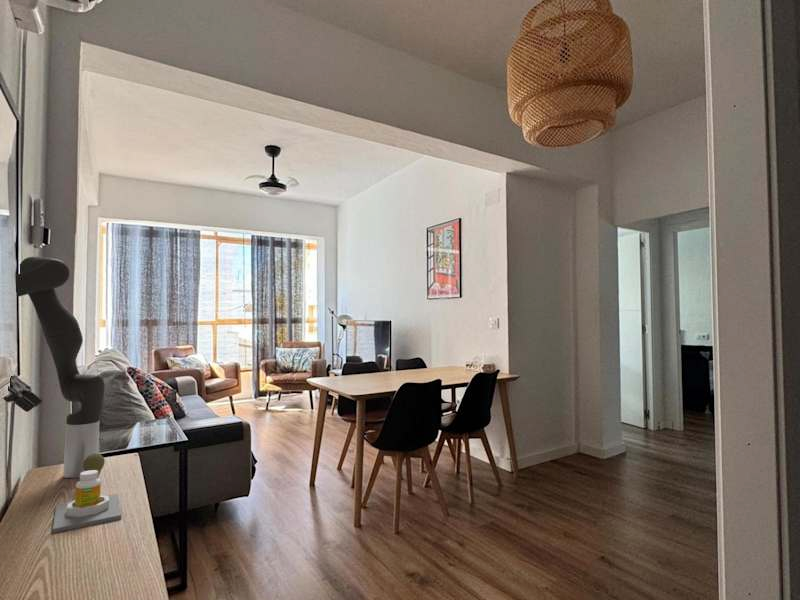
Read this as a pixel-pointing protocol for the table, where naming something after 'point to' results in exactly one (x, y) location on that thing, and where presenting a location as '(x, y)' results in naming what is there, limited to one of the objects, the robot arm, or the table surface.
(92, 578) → the table surface
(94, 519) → the collar plate
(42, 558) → the table surface
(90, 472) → the supplement bottle
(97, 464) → the light bulb
